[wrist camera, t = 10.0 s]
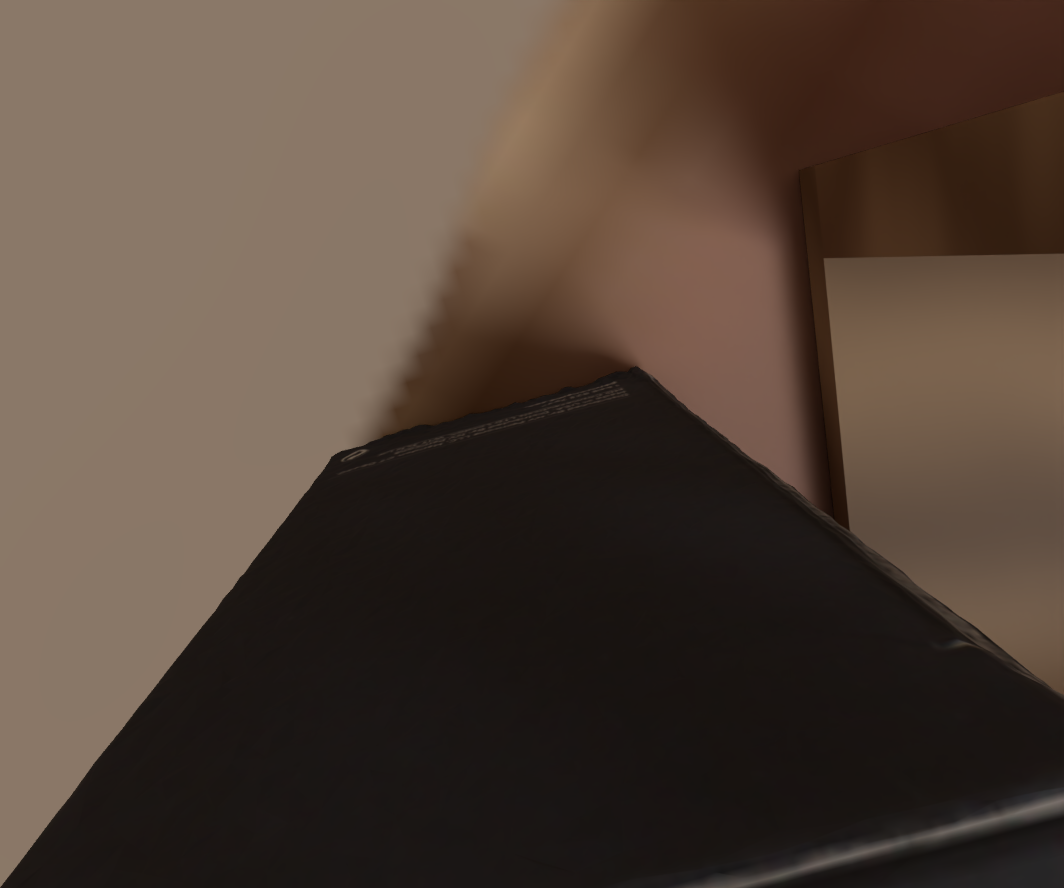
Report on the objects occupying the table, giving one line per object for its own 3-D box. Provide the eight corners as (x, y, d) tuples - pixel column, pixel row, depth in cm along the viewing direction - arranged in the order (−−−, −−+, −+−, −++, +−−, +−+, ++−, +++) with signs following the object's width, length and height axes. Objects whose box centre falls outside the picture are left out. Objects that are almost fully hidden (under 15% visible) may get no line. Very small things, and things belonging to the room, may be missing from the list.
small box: (303, 452, 13) (-367, 1155, 3) (650, 356, 13) (1285, 702, 3) (465, 901, 16) (437, 2100, 5) (752, 822, 16) (1264, 1872, 5)
